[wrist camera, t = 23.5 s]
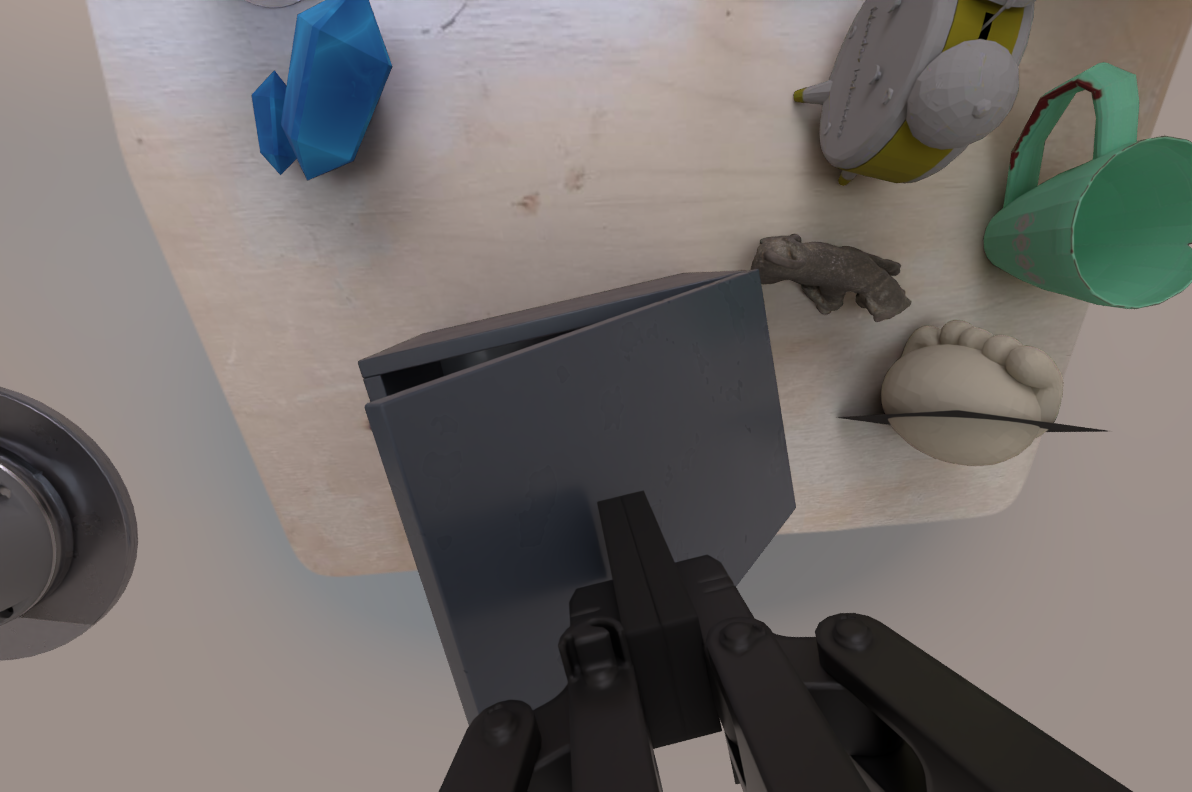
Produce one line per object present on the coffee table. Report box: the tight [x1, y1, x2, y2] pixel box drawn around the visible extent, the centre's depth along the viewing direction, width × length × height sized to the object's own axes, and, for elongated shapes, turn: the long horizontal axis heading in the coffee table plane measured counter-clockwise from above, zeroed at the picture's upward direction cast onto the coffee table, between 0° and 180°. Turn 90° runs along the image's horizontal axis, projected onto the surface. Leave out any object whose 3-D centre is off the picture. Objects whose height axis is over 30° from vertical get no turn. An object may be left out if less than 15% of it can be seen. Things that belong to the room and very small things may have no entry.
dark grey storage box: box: [358, 270, 747, 402], centre depth 36 cm, size 20×13×14 cm, turn 103°
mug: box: [983, 62, 1192, 309], centre depth 37 cm, size 15×10×10 cm
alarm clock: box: [794, 0, 1036, 186], centre depth 32 cm, size 12×7×15 cm, turn 169°
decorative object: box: [838, 320, 1106, 466], centre depth 39 cm, size 13×10×10 cm
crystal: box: [252, 0, 392, 180], centre depth 33 cm, size 7×9×12 cm
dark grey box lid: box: [365, 269, 796, 726], centre depth 21 cm, size 21×13×1 cm
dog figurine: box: [751, 234, 911, 322], centre depth 38 cm, size 12×6×7 cm, turn 76°
